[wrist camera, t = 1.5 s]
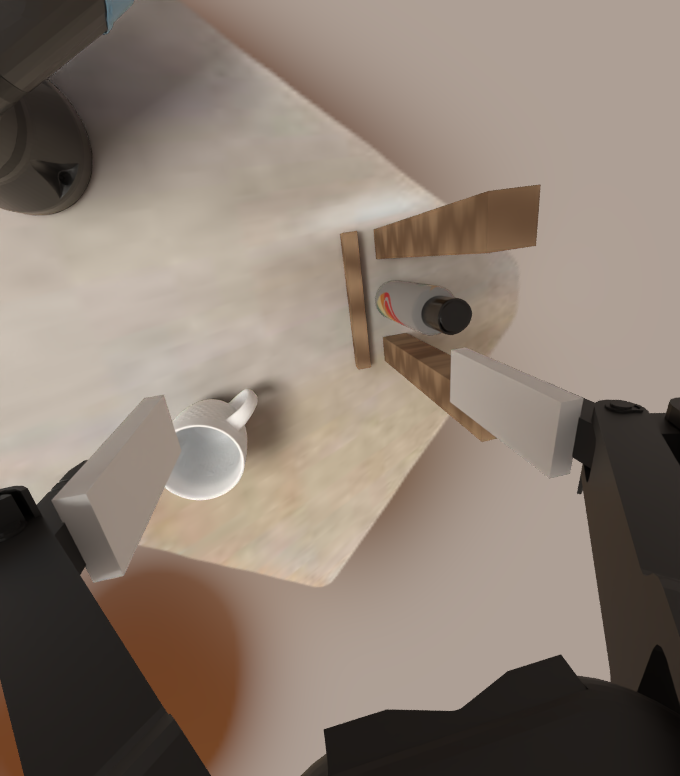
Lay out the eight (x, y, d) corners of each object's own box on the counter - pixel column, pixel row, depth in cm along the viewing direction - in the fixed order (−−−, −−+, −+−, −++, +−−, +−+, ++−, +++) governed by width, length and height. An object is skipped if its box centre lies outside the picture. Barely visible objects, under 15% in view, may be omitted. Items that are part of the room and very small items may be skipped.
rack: (340, 234, 48) (420, 199, 23) (399, 226, 50) (540, 184, 24) (355, 365, 56) (430, 453, 30) (407, 356, 57) (521, 432, 31)
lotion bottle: (378, 321, 54) (434, 351, 35) (371, 285, 52) (427, 297, 33) (411, 312, 54) (484, 336, 36) (405, 276, 52) (479, 282, 34)
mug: (228, 356, 51) (216, 384, 39) (281, 402, 55) (284, 440, 43) (162, 422, 53) (131, 468, 41) (219, 462, 57) (205, 515, 45)
